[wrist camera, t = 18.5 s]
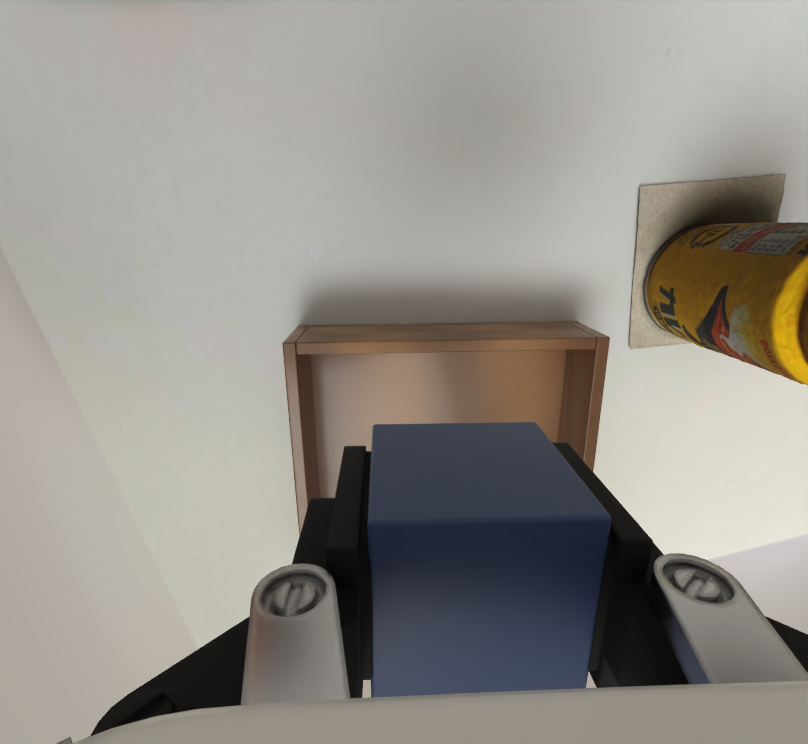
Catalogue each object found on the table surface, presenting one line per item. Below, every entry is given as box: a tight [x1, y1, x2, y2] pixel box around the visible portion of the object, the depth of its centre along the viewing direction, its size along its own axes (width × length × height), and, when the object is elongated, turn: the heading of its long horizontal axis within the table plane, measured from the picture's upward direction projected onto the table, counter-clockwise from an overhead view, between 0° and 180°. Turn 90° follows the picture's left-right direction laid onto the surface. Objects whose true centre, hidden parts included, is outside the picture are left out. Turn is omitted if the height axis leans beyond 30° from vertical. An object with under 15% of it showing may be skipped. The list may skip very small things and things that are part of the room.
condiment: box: [630, 174, 808, 385], centre depth 19 cm, size 7×8×12 cm
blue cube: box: [367, 422, 611, 697], centre depth 10 cm, size 4×4×4 cm
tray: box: [283, 321, 610, 535], centre depth 25 cm, size 15×14×4 cm
